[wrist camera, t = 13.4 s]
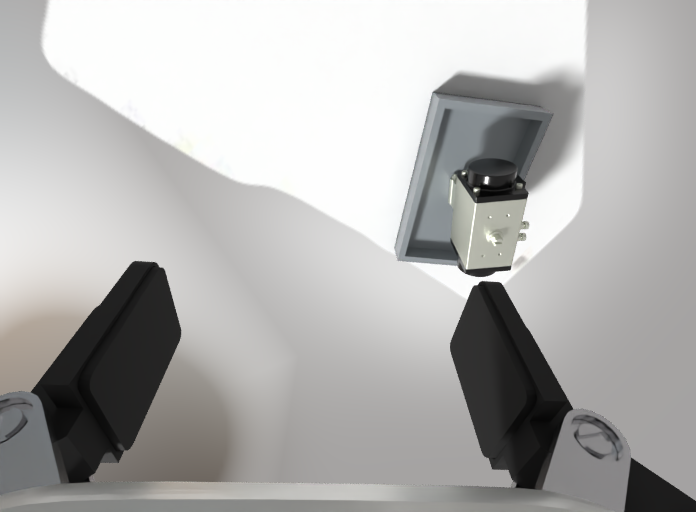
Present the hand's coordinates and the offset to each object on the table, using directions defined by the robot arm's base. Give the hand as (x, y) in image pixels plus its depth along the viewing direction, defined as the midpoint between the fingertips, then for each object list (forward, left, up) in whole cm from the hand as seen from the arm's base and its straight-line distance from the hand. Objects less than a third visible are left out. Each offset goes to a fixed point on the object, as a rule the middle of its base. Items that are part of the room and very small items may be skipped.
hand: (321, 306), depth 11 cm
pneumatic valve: (+9, +17, -32) cm, 37 cm away
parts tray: (+9, +17, -32) cm, 37 cm away
